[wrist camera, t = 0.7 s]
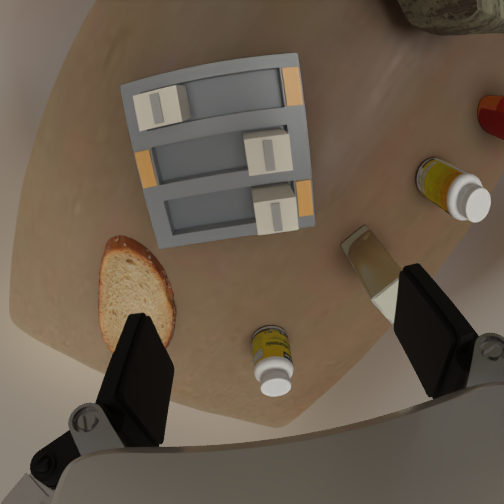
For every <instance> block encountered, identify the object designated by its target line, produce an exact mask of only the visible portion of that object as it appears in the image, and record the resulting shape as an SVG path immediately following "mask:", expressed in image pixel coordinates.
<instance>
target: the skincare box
mask: <svg viewBox="0 0 504 504" xmlns="http://www.w3.org/2000/svg"><path fill="white" fill-rule="evenodd" d="M341 247H342V249H343V251H344V252H345V254H346V256H347V257H348V259H349V261H350V263H351V264H352V266H353V268H354V270H355V271H356V273H357V275H358V277H359V279H360V280H361V282H362V284H363V286H364V288H365V290H366V291H367V293H368V295H369V297H370V299H371V300H372V302H373V303H374V304H375V305H376V306H377V308H378V309H379V310H380V311H381V312H382V313H383V315H384V316H385V317H386V318H387V319H388V320H389V321H390V323H391V324H392V325H393V326H394V318H395V310H396V301H397V292H398V282H399V273H400V271H402V270H401V268H400V267H399V266H398V265H397V263H396V262H395V261H394V259H393V258H392V257H391V256H390V254H389V253H388V252H387V251H386V249H385V248H384V247H383V246H382V244H381V243H380V242H379V241H378V239H377V238H376V237H375V236H374V235H373V233H372V232H371V231H370V230H369V229H368V228H367V226H366V225H364V226H363V227H361V228H360V229H359V230H357V231H356V232H355V233H354V234H353V235H351V236H350V237H349V238H348V239H346V240H345V241H344V242H343V243H342V244H341Z"/></svg>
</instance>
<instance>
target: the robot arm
mask: <svg viewBox="0 0 504 504" xmlns="http://www.w3.org/2000/svg"><path fill="white" fill-rule="evenodd" d="M394 332H395V334H396V336H397V338H398V339H399V341H400V343H401V345H402V347H403V349H404V351H405V353H406V354H407V356H408V358H409V360H410V362H411V364H412V366H413V368H414V370H415V372H416V374H417V375H418V378H419V380H420V382H421V383H422V386H423V387H424V389H425V392H426V394H427V395H428V397H432V398H433V400H430V401H427V402H424V403H422V404H419V405H415V406H413V407H409V408H406V409H403V410H400V411H397V412H394V413H390V414H387V415H384V416H380V417H376V418H373V419H369V420H365V421H361V422H358V423H353V424H350V425H345V426H341V427H336V428H332V429H327V430H322V431H318V432H312V433H307V434H302V435H296V436H290V437H283V438H277V439H270V440H262V441H254V442H245V443H234V444H223V445H207V446H184V447H159V444H162V443H163V441H164V434H165V427H166V420H167V414H168V406H169V401H170V395H171V388H172V382H173V376H174V365H173V363H172V361H171V359H170V357H169V355H168V353H167V351H166V349H165V347H164V344H163V342H162V340H161V338H160V336H159V334H158V332H157V330H156V328H155V325H154V323H153V321H152V319H151V317H150V316H146V314H145V313H143V312H142V313H135V314H130V315H129V316H128V318H127V320H126V323H125V325H124V328H123V330H122V333H121V335H120V338H119V340H118V343H117V346H116V348H115V351H114V353H113V355H112V357H111V360H110V363H109V366H108V368H107V371H106V374H105V377H104V379H103V382H102V385H101V388H100V391H99V394H98V397H97V400H96V403H85V404H82V405H80V406H79V407H77V408H76V409H75V410H74V411H73V412H72V414H71V416H70V418H69V422H68V425H69V429H70V430H69V431H67V432H66V433H64V434H63V435H62V436H60V437H59V438H57V439H56V440H54V441H53V442H51V443H50V444H49V445H47V446H46V447H44V448H42V449H41V450H39V451H38V452H37V453H36V454H35V455H34V456H33V458H32V460H31V464H30V470H31V473H30V474H29V475H28V473H26V474H25V475H24V476H23V477H22V478H21V479H20V481H19V482H18V483H17V484H16V485H15V487H14V488H13V489H12V490H11V491H10V492H9V494H8V495H7V496H6V497H5V498H4V499H3V501H2V503H1V504H504V337H502V336H501V335H498V334H495V333H485V334H483V335H481V336H478V334H477V333H476V332H475V330H474V329H473V328H472V327H471V325H470V324H469V323H468V321H467V320H466V319H465V317H464V316H463V315H462V314H461V313H460V311H459V310H458V309H457V307H456V306H455V305H454V304H453V302H452V301H451V300H450V299H449V298H448V296H447V295H446V294H445V293H444V292H443V291H442V290H441V288H440V287H439V286H438V285H437V284H436V282H435V281H434V280H433V279H432V278H431V277H430V275H429V274H428V273H427V272H426V271H425V270H424V269H423V267H422V266H421V265H420V264H418V263H417V264H412V265H408V266H405V267H404V268H403V271H400V273H399V282H398V292H397V301H396V310H395V318H394Z"/></svg>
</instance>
